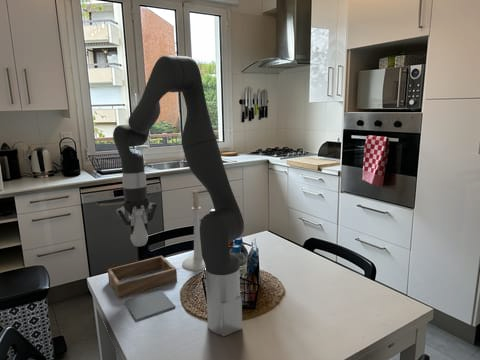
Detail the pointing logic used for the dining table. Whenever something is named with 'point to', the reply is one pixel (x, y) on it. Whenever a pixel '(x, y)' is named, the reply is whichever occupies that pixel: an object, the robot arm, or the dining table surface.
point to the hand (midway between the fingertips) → (139, 234)
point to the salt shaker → (139, 230)
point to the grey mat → (149, 305)
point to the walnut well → (144, 282)
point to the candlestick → (195, 240)
